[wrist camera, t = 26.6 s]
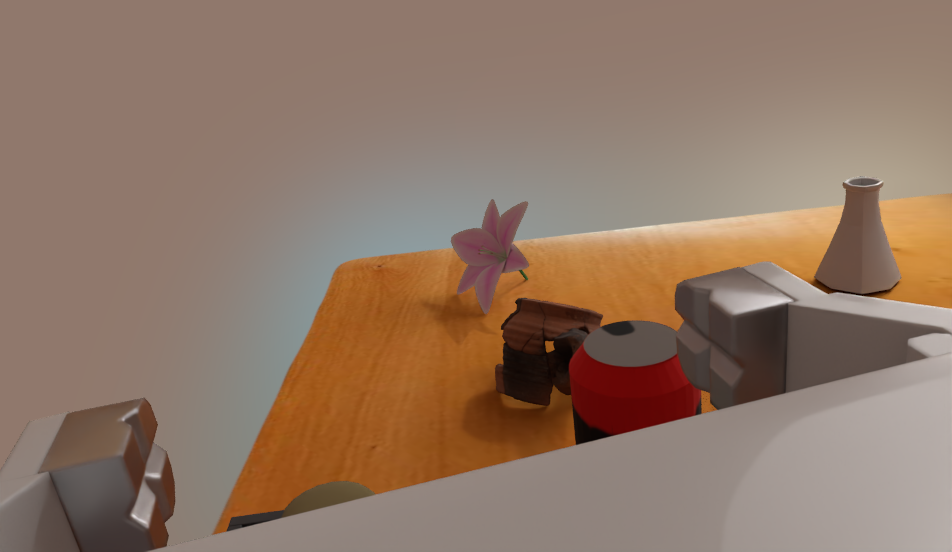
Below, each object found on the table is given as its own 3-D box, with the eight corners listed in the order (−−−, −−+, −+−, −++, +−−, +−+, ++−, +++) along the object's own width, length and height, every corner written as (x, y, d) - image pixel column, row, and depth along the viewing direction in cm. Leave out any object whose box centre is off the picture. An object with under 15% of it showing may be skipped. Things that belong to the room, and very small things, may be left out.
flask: (863, 302, 72) (870, 198, 68) (799, 279, 78) (803, 182, 74) (916, 280, 74) (925, 179, 71) (851, 260, 81) (856, 165, 77)
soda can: (668, 461, 54) (661, 304, 49) (727, 531, 47) (726, 355, 43) (564, 489, 53) (548, 330, 48) (610, 565, 46) (597, 388, 41)
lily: (460, 279, 92) (419, 224, 86) (548, 229, 90) (512, 170, 84) (483, 349, 83) (439, 294, 77) (581, 296, 81) (544, 235, 75)
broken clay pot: (470, 384, 68) (488, 291, 68) (563, 398, 72) (579, 309, 72) (536, 412, 57) (558, 300, 57) (641, 426, 61) (661, 322, 61)
